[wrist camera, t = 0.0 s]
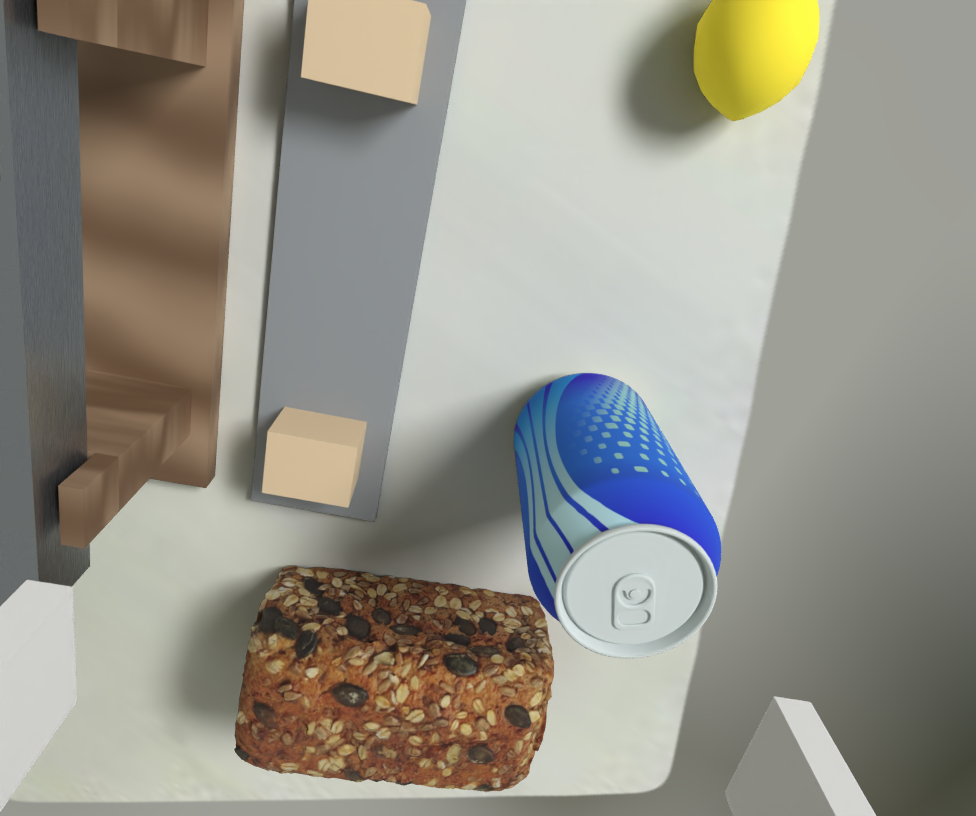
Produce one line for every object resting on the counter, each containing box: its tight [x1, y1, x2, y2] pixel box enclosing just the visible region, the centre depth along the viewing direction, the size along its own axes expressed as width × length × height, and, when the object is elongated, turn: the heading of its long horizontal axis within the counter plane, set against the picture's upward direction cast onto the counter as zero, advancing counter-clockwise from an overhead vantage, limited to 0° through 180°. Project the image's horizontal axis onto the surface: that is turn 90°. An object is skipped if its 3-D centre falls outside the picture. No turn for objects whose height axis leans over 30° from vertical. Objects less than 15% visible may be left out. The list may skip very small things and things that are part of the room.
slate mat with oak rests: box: [251, 0, 466, 522], centre depth 35 cm, size 32×8×4 cm, turn 168°
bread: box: [234, 566, 554, 792], centre depth 43 cm, size 19×11×10 cm, turn 78°
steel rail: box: [0, 0, 90, 606], centre depth 25 cm, size 30×3×4 cm, turn 168°
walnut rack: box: [37, 0, 244, 548], centre depth 30 cm, size 30×8×13 cm, turn 168°
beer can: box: [514, 373, 721, 658], centre depth 34 cm, size 8×8×16 cm
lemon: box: [694, 0, 819, 121], centre depth 31 cm, size 7×5×5 cm
